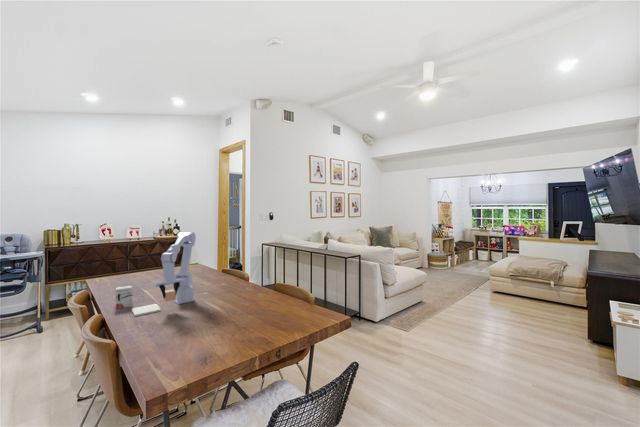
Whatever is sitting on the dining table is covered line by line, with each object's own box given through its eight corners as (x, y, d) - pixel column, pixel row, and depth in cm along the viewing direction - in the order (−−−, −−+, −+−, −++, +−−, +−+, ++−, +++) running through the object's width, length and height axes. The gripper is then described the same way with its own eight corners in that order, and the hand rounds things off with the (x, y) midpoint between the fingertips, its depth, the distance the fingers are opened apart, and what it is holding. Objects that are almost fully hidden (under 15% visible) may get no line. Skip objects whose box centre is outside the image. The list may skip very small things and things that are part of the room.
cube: (173, 297, 173) (173, 289, 173) (175, 299, 169) (175, 291, 169) (164, 299, 170) (163, 290, 170) (166, 301, 166) (165, 292, 166)
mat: (156, 305, 180) (156, 303, 180) (161, 311, 170) (161, 309, 170) (131, 310, 172) (131, 308, 172) (134, 316, 162) (134, 314, 162)
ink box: (115, 309, 174) (115, 289, 174) (116, 306, 178) (115, 287, 178) (132, 306, 179) (132, 286, 179) (132, 303, 183) (132, 285, 183)
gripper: (156, 276, 161) (157, 301, 162) (184, 272, 170) (185, 295, 171) (153, 274, 167) (154, 298, 167) (181, 270, 176) (181, 293, 176)
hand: (169, 296), depth 169 cm, fingers closed on cube, 5 cm apart
